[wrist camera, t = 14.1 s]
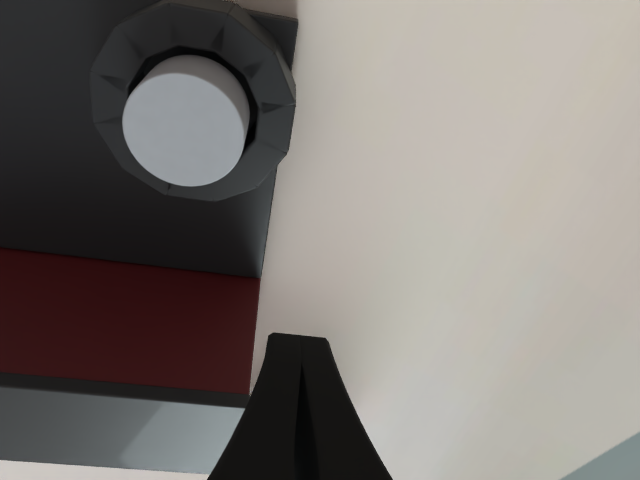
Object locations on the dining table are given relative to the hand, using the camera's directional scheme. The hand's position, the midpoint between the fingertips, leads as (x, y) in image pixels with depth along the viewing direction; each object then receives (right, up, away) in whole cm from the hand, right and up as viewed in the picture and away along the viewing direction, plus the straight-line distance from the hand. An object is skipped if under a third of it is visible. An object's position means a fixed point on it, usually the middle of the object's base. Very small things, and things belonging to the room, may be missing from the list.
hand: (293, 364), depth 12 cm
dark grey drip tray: (-8, +7, +7) cm, 13 cm away
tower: (-9, +1, +12) cm, 15 cm away
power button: (-4, +7, +5) cm, 9 cm away
